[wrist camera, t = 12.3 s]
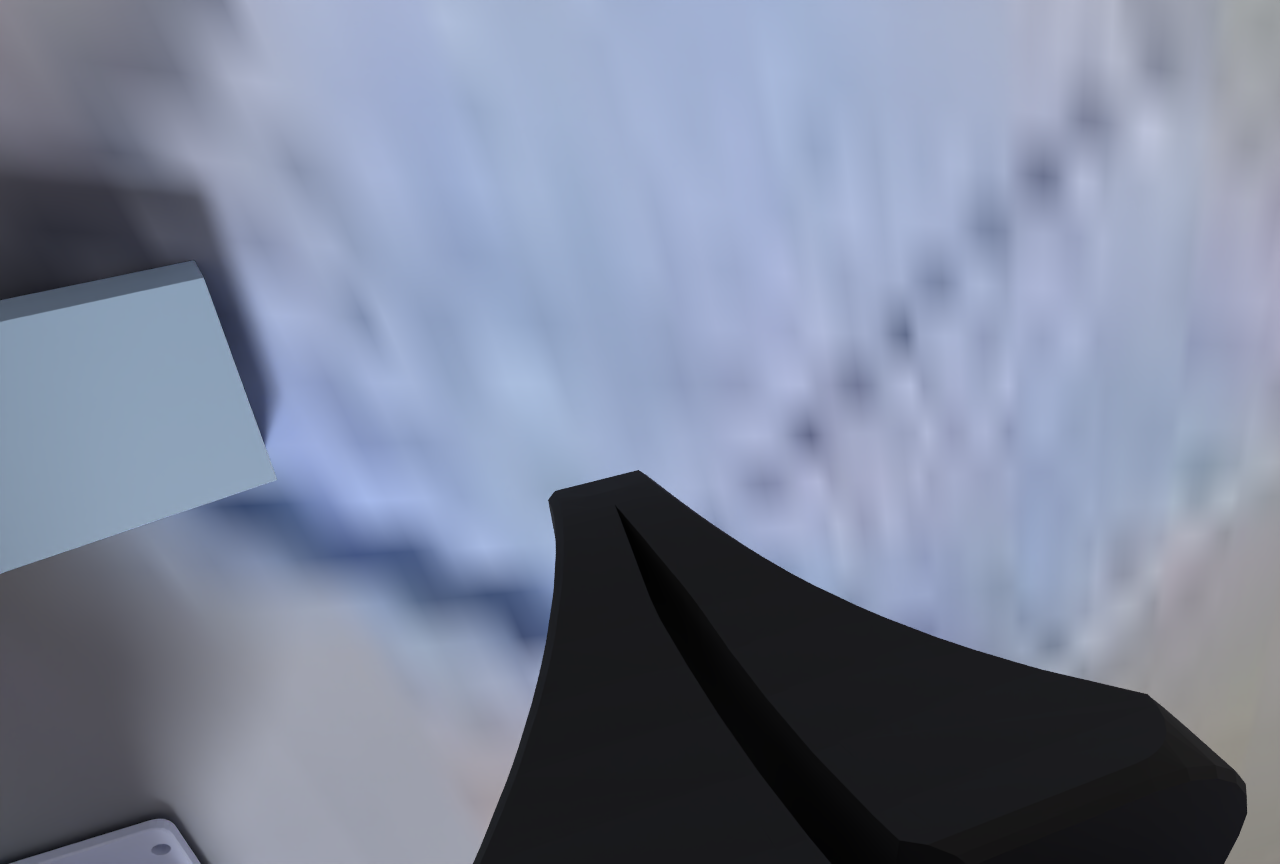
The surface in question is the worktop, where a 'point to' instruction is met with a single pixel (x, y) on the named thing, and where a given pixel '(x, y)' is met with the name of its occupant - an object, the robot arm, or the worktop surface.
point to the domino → (117, 411)
